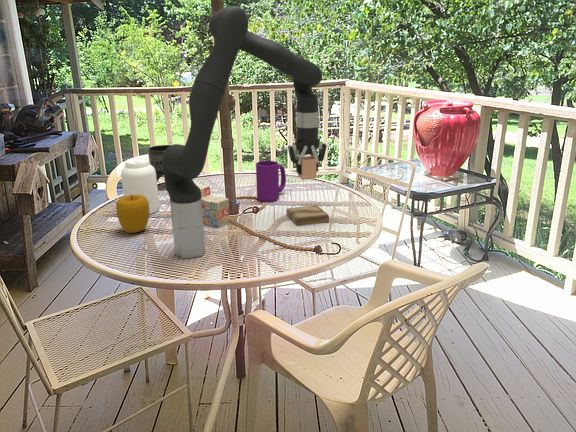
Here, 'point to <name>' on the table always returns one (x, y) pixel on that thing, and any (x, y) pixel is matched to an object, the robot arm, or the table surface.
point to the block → (308, 168)
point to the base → (307, 215)
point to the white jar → (141, 181)
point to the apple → (133, 213)
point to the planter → (157, 159)
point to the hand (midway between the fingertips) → (307, 173)
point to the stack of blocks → (213, 208)
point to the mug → (269, 180)
